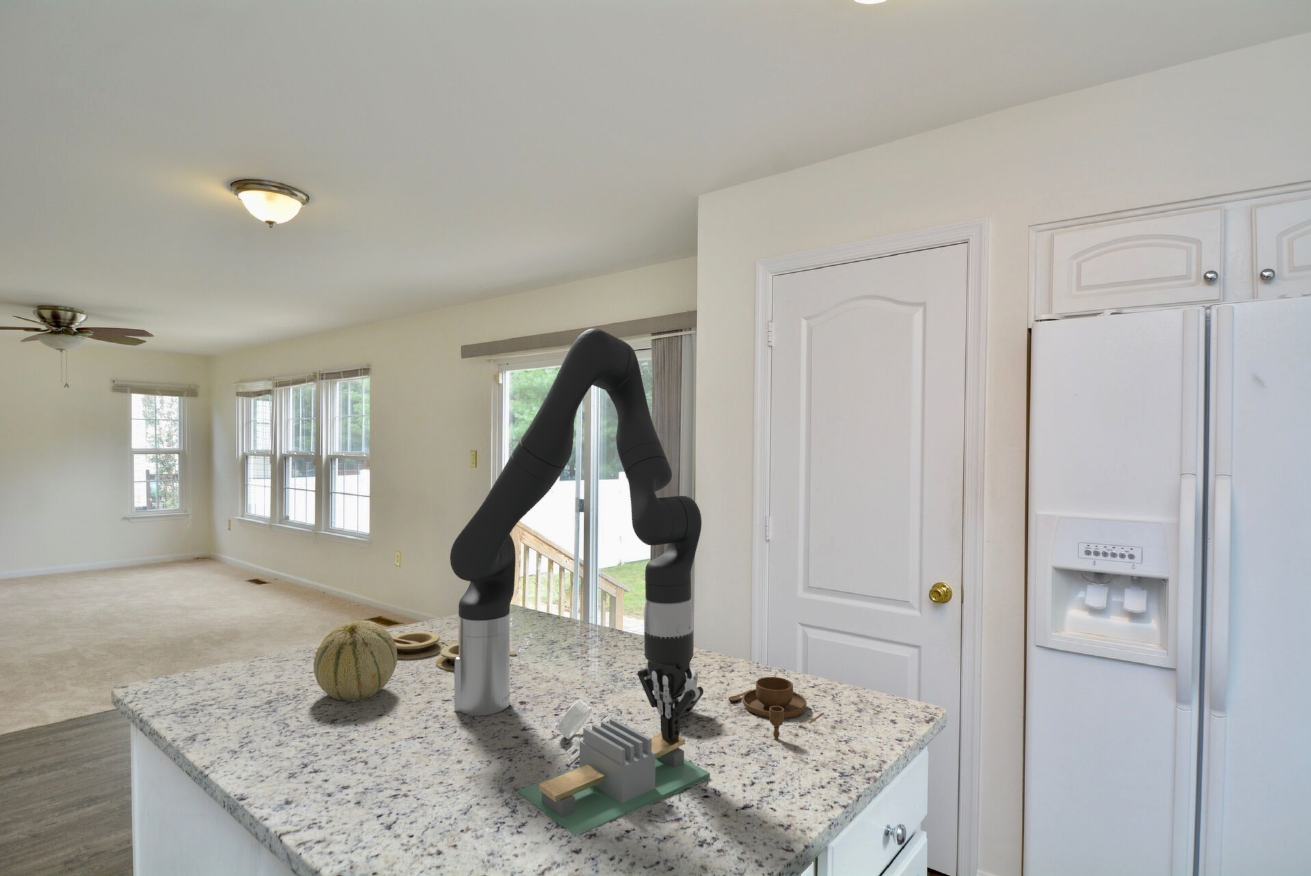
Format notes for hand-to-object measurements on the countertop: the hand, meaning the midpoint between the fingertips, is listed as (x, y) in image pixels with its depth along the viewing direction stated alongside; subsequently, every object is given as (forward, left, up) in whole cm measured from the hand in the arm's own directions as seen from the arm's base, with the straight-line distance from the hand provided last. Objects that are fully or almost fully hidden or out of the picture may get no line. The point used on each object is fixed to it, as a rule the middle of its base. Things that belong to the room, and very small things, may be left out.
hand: (670, 738), depth 106 cm
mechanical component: (+1, +20, -5) cm, 20 cm away
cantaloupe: (-61, +23, -5) cm, 66 cm away
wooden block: (-5, -5, -1) cm, 7 cm away
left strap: (-10, -10, -1) cm, 14 cm away
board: (-7, -7, -5) cm, 11 cm away
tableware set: (-55, +48, -6) cm, 73 cm away
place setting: (+17, +22, -6) cm, 28 cm away
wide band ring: (-17, +8, -5) cm, 19 cm away
